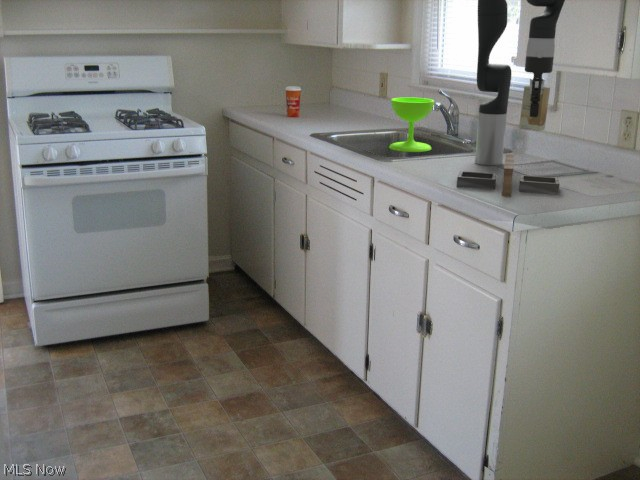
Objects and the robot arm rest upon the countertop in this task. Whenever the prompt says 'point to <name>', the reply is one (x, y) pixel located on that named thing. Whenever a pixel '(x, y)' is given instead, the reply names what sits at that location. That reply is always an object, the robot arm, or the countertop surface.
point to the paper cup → (293, 100)
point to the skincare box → (540, 120)
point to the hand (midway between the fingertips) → (533, 115)
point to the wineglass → (411, 120)
